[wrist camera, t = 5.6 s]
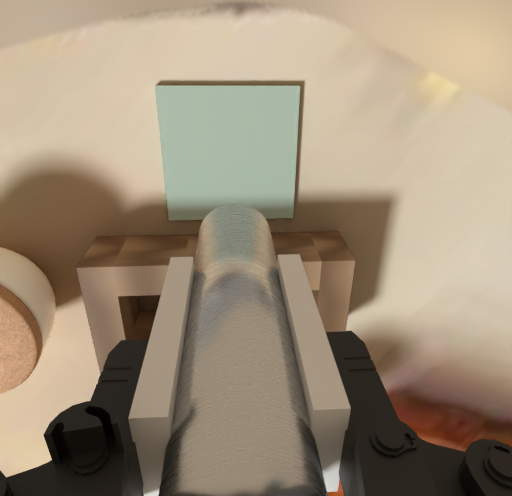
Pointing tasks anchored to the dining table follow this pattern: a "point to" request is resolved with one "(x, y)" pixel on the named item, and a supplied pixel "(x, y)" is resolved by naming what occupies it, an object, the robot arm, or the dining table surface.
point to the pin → (239, 374)
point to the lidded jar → (22, 317)
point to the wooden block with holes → (166, 246)
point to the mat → (228, 147)
